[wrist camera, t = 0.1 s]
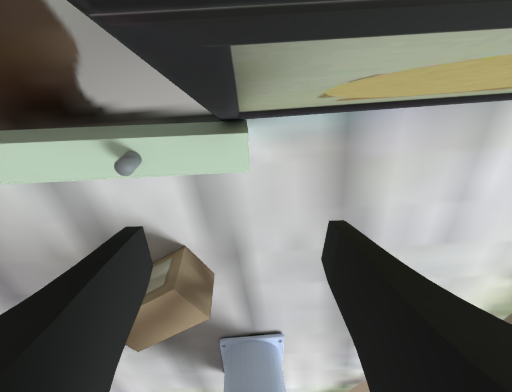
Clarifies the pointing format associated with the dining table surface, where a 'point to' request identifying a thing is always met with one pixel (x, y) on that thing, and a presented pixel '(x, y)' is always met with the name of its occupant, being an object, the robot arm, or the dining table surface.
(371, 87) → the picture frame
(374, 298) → the robot arm
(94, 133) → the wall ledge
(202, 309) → the frame block
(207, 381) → the dining table surface
